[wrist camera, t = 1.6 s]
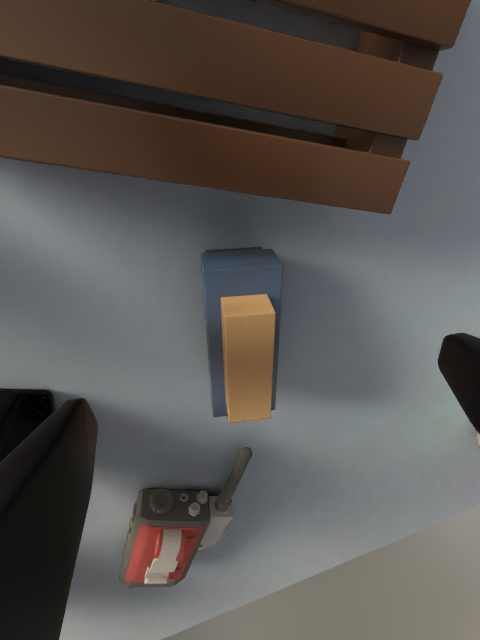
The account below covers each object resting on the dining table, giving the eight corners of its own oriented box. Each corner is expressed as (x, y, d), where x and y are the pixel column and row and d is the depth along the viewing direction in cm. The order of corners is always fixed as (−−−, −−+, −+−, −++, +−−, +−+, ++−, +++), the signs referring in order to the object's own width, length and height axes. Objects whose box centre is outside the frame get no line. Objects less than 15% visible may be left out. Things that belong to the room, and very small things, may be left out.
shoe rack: (343, 192, 19) (391, 214, 15) (-116, 120, 15) (-243, 122, 10) (426, -86, 14) (539, -180, 10) (-255, -331, 9) (-640, -725, 5)
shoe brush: (263, 370, 25) (283, 435, 20) (209, 376, 25) (215, 443, 20) (266, 239, 20) (295, 281, 15) (199, 243, 20) (204, 288, 15)
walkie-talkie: (200, 558, 38) (257, 436, 29) (202, 606, 34) (268, 484, 25) (118, 558, 36) (153, 426, 27) (111, 610, 32) (148, 477, 23)
